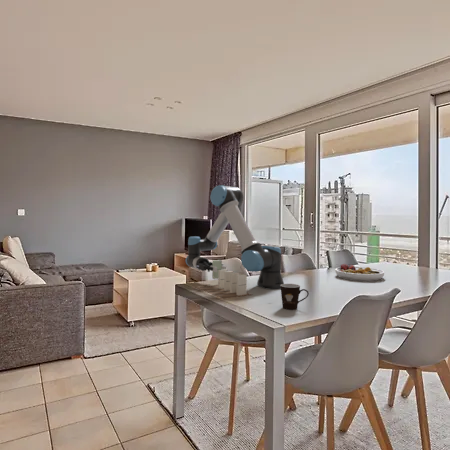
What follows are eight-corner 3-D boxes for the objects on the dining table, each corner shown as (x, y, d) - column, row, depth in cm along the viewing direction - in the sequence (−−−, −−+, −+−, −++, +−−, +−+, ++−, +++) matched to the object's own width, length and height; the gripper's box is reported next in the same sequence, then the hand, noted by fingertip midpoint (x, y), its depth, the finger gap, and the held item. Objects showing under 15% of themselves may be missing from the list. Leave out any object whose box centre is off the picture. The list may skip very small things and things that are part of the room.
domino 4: (230, 292, 190) (230, 273, 190) (238, 291, 193) (238, 272, 193) (231, 293, 189) (231, 273, 189) (239, 292, 192) (240, 272, 191)
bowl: (393, 279, 237) (393, 267, 237) (365, 284, 220) (365, 271, 220) (353, 272, 262) (354, 261, 262) (325, 276, 245) (325, 264, 245)
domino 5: (236, 294, 185) (236, 275, 185) (244, 293, 188) (244, 274, 187) (238, 295, 184) (238, 275, 183) (246, 294, 186) (246, 274, 186)
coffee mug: (276, 307, 163) (276, 285, 163) (287, 304, 170) (287, 282, 169) (299, 313, 155) (299, 289, 155) (309, 309, 162) (309, 286, 161)
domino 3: (224, 290, 195) (224, 271, 195) (232, 289, 198) (232, 270, 198) (225, 290, 194) (225, 272, 194) (233, 289, 197) (233, 271, 196)
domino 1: (212, 278, 206) (212, 260, 205) (220, 277, 208) (220, 260, 208) (213, 278, 204) (214, 260, 204) (221, 278, 207) (221, 260, 207)
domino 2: (218, 288, 200) (218, 270, 200) (226, 287, 203) (226, 269, 203) (219, 288, 199) (219, 270, 199) (227, 287, 202) (227, 269, 201)
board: (194, 288, 203) (194, 287, 203) (221, 285, 212) (221, 284, 212) (223, 300, 176) (223, 298, 176) (252, 296, 185) (252, 294, 185)
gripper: (214, 268, 227) (234, 274, 207) (187, 270, 218) (206, 277, 198) (214, 256, 227) (234, 261, 207) (187, 258, 217) (206, 263, 198)
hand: (221, 269), depth 202 cm, fingers closed on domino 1, 5 cm apart
